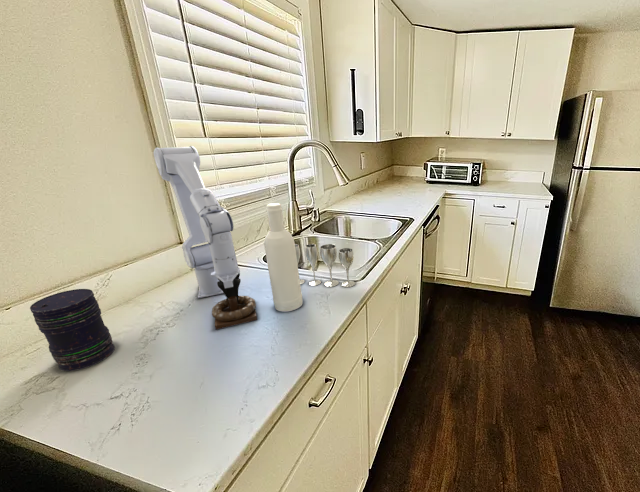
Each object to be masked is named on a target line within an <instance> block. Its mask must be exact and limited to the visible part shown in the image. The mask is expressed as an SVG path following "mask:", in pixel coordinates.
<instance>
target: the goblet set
mask: <svg viewBox="0 0 640 492" xmlns="http://www.w3.org/2000/svg"><path fill="white" fill-rule="evenodd" d="M304 249H305V250H304V251H305V257H306V260H307V261H308V263H309V264H310V266H311V269H312V274H313V280H311V281H309V282H308V284H309V285H310V286H319V285H321V283H322V281H321V280H319V279H316V274H315V268H316V267H315V266H316V262H317V260H318V248H317V245H316V244H315V243H308V244H306V245H305V248H304ZM295 250H296V257H297V264H298V265H299V262H300V258H301V249H300V246H299V244H296V243H295ZM319 254H320V258H321V261H322V262H323V264H325V266H326V267H327V268H328V271H329V277H330V278H329V279H330V280H327V281H325V282H324V286H326V287H329V288H331V287H336V286H338V285H339V284H340V283H339V280H336V279H333V275H332V268H333V265H335V262H336V260H337V258H338V261H339V263H340V264H341V265H342V267H343V268H344V270H345V272H346V281H343V282H342V283H341V286H342V287H344V288H351V287H354V286H355V285H356V282H355V281H354V280H350V277H349V273H350V272H349V270H350V268H351V266H352V264H353V262H354V250H353V248H349V247H344V248H340V249H339V250H337V246H336V245H335V244H333V243H327V244H326V243H325V244H322V245H321V246H320V248H319ZM337 256H338V257H337ZM305 282H306V281H305V279H300V285H303V284H304V283H305Z"/></svg>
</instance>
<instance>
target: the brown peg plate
mask: <svg viewBox="0 0 640 492" xmlns="http://www.w3.org/2000/svg"><path fill="white" fill-rule="evenodd" d="M228 300H229V305H230V306H229V307H227V308H225V309H224V310H223V311H224V312H232V311H236V310H240V309H242V308H244V307H245V306H246V305H245V304H238V302H237V298H236V296H231V297H229V298H228ZM254 321H258V317H257V311H256V308H255V309H254V311H253V312H252V313H251V314H250V315H248V316H246V317H244V318H242V319H238V320H233V321H219V320H218V319H216V318H214V329H215V330H217V331H218V330H221V329H224V328H229V327H233V326H237V325H241V324H246V323H249V322H254Z"/></svg>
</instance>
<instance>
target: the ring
mask: <svg viewBox="0 0 640 492" xmlns="http://www.w3.org/2000/svg"><path fill="white" fill-rule="evenodd" d="M238 304H245V305H246V306H245V307H244V308H242V309H240V310H236V311H232V312H224V311H223V310H224V309H225V308H227V307H229V306H230V305H229V301H228V300H227V297H225V298H224V299H222V300H219V301H218V302H217V303H216V304H215V305H213V307H212V309H211V316H212V317H213V318H214V319H215V318H216V319H218V320H219V321H233V320H238V319H242V318H244V317H246V316H248V315H250V314H251V313H252V312H253V311H254V309H255V310H256V308H257V303H256V300H255V299H254V298H252V297H250V296H249V295H238Z"/></svg>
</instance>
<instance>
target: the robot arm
mask: <svg viewBox="0 0 640 492" xmlns="http://www.w3.org/2000/svg"><path fill="white" fill-rule="evenodd" d="M153 159H154V163H155V165H156V168H157V171H158V174H159V175H160V177H161V179H162V180H163V181H166V182H169V184H170V185H171V187H172V190H173V192H174V195H175V198H176V201H177V203H178V206H179V210H180V213H181V216H182V218H183V221H184V224H185V227H186V230H187V233H188V237H187V238H186V239H185V241H184V242H183V243H182V245H181V249H182V253H183V258H184V262H185V263H186V265H187V266H188V267H189V268H190V269H193V270H194V274H195V277H196V281H197V285H198V289H199V290H198V294H197V298H198V299H202V298H208V297H213V296H218V295H223V294H224V296H225V298H227V300H228V298H229V297H231V296H236V298H237V302H238V296H239V288H240V285H241V278H240V276H241V269H240V267H239V264H238V258H237V253H236V250H235V245H234V239H233V235H232V232H233V231H234V221H233V218H232V216H231V213H230V212H229V211H228V210H227V209H226V208H225V207H222V206H221V204H220V203H219V201H218V199H217V197H216V196H215V194H214V191H212V190H211V189H209V188H206V186H205V183H204V181H203V179H202V176H201V174H200V172H199V171H200V169H201V167H200V166H201V158H200V154H199V152H198V150H197V148H196V147H194V146H193V145H188V146H175V147H174V146H172V147H155V148H154V149H153ZM196 245H197V246H196ZM228 301H229V300H228Z"/></svg>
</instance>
